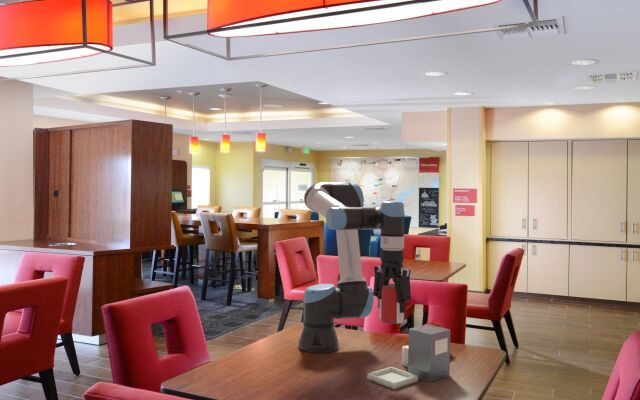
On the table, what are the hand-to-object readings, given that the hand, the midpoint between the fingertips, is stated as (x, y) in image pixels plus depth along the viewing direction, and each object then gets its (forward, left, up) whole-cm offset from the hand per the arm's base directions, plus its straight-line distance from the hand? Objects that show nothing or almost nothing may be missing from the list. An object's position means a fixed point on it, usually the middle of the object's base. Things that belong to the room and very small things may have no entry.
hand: (391, 320), depth 181 cm
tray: (+3, -3, -18) cm, 18 cm away
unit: (+7, +10, -18) cm, 22 cm away
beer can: (0, 0, -1) cm, 1 cm away
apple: (-8, +34, -18) cm, 39 cm away
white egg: (-4, +14, -18) cm, 23 cm away
